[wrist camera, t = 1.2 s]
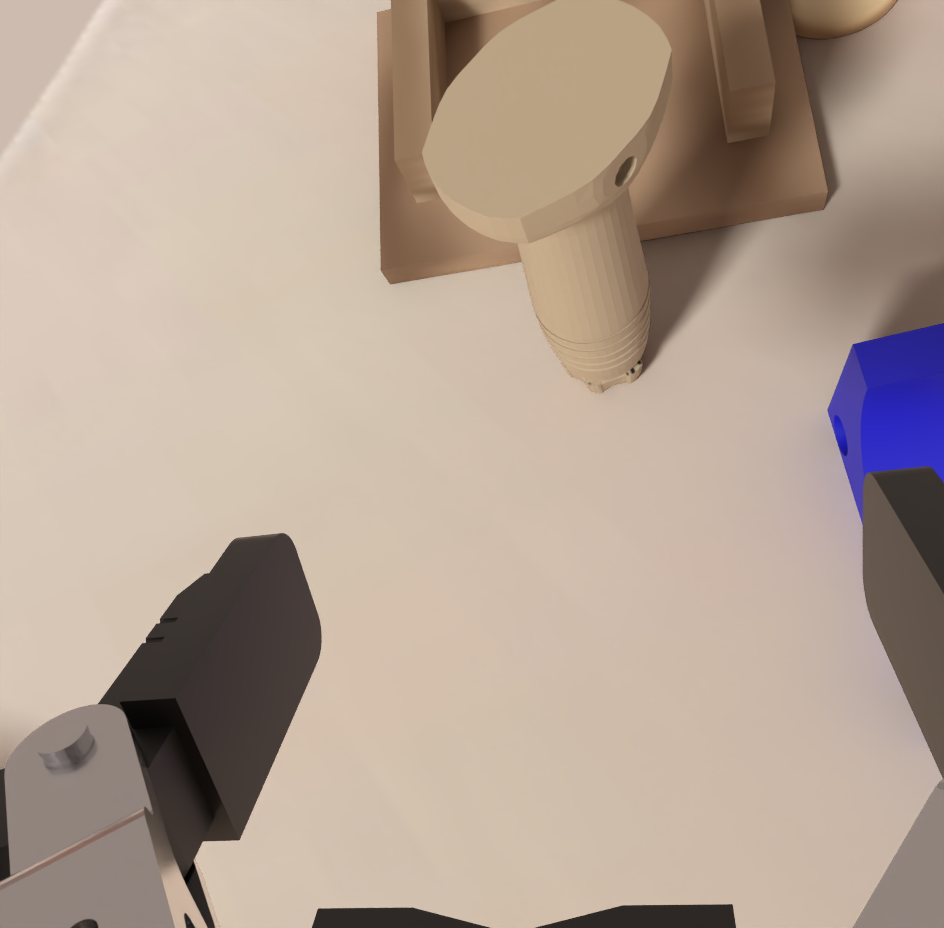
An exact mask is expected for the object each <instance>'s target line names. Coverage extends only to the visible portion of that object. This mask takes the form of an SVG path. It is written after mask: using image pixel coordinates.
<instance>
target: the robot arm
mask: <svg viewBox="0 0 944 928" xmlns="http://www.w3.org/2000/svg"><path fill="white" fill-rule="evenodd" d="M863 583H864V591H865V597H866V602H867V606H868V610H869V614H870V617H871V619H872V622H873V624H874V626H875V629H876V631H877V633H878V635H879V638H880V640H881V642H882V644H883V646H884V649H885V651H886V653H887V655H888V657H889V660H890V662H891V664H892V666H893V669H894V671H895V673H896V675H897V677H898V680H899V682H900V684H901V686H902V689H903V691H904V693H905V695H906V697H907V700H908V702H909V704H910V706H911V709H912V711H913V713H914V715H915V717H916V720H917V722H918V724H919V726H920V728H921V731H922V733H923V735H924V737H925V740H926V742H927V744H928V746H929V748H930V751H931V753H932V755H933V757H934V760H935V762H936V764H937V766H938V768H939V771H940V773H941V775H942V777H943V779H942V780H941V781H940V782H939V783H938V785H937V786H936V787H935V789H934V790H933V792H932V793H931V795H930V797H929V799H928V800H927V802H926V804H925V805H924V807H923V809H922V810H921V812H920V814H919V816H918V817H917V819H916V821H915V822H914V824H913V826H912V828H911V829H910V831H909V833H908V834H907V836H906V838H905V839H904V841H903V843H902V845H901V846H900V848H899V850H898V851H897V853H896V855H895V857H894V858H893V860H892V862H891V863H890V865H889V867H888V868H887V870H886V872H885V874H884V875H883V877H882V879H881V880H880V882H879V884H878V886H877V887H876V889H875V891H874V892H873V894H872V896H871V897H870V899H869V901H868V903H867V904H866V906H865V908H864V909H863V911H862V913H861V914H860V916H859V918H858V920H857V921H856V923H855V925H854V926H853V928H944V482H943V481H942V480H941V478H940V477H939V476H938V474H937V473H936V472H935V470H934V469H933V468H932V467H930V466H924V467H914V468H905V469H896V470H886V471H877V472H868V473H867V474H866V475H865V478H864V483H863ZM320 651H321V625H320V620H319V616H318V613H317V610H316V607H315V604H314V601H313V598H312V595H311V592H310V589H309V586H308V583H307V581H306V578H305V575H304V572H303V569H302V566H301V563H300V560H299V557H298V554H297V551H296V548H295V545H294V543H293V541H292V540H291V538H290V537H289V536H288V535H286V534H284V533H280V534H270V535H261V536H251V537H242V538H236V539H234V540H233V541H232V542H231V543H230V544H229V546H228V547H227V549H226V550H225V552H224V553H223V554H222V556H221V557H220V559H219V560H218V562H217V563H216V564H215V566H214V567H213V569H212V570H211V572H210V573H208V574H204V575H203V576H201V577H200V578H199V579H197V580H196V581H195V582H194V583H192V584H191V585H190V586H189V587H187V588H186V589H185V590H184V591H182V592H181V593H180V594H178V595H177V596H176V598H175V599H174V600H173V602H172V603H171V605H170V606H169V607H168V609H167V610H166V611H165V613H164V614H163V616H162V617H161V618H160V624H156V625H155V627H154V628H153V629H152V631H151V632H150V633H149V635H148V636H147V637H146V643H142V644H141V646H140V647H139V648H138V650H137V651H136V653H135V654H134V655H133V657H132V658H131V659H130V661H129V662H128V664H127V665H126V666H125V668H124V669H123V670H122V672H121V673H120V674H119V676H118V677H117V679H116V680H115V681H114V683H113V684H112V685H111V687H110V688H109V690H108V691H107V692H106V694H105V695H104V696H103V698H102V699H101V701H100V702H99V703H98V704H96V705H89V706H84V707H80V708H77V709H74V710H71V711H68V712H66V713H63V714H61V715H59V716H57V717H55V718H53V719H51V720H50V721H48V722H46V723H45V724H43V725H42V726H40V727H39V728H38V729H36V730H35V731H33V732H32V733H31V734H30V735H29V736H28V737H26V738H25V739H24V740H23V741H22V742H21V743H20V744H19V746H18V747H17V748H16V749H15V751H14V752H13V753H12V755H11V756H10V758H9V760H8V762H7V765H6V768H5V769H2V770H0V928H220V926H219V923H218V920H217V917H216V914H215V911H214V908H213V905H212V902H211V899H210V896H209V893H208V890H207V886H206V883H205V880H204V877H203V874H202V872H201V870H200V868H199V866H198V864H197V862H196V860H195V856H196V854H197V852H198V850H199V848H200V846H201V844H202V842H203V841H230V840H240V838H241V835H242V833H243V831H244V829H245V826H246V824H247V822H248V819H249V817H250V815H251V812H252V810H253V808H254V806H255V803H256V801H257V799H258V796H259V794H260V792H261V790H262V787H263V785H264V783H265V780H266V778H267V776H268V774H269V771H270V769H271V767H272V764H273V762H274V760H275V758H276V755H277V753H278V751H279V748H280V746H281V744H282V742H283V739H284V737H285V735H286V732H287V730H288V728H289V726H290V723H291V721H292V719H293V716H294V714H295V712H296V710H297V707H298V705H299V703H300V700H301V698H302V696H303V694H304V691H305V689H306V687H307V684H308V682H309V680H310V678H311V675H312V673H313V671H314V668H315V666H316V664H317V662H318V659H319V655H320ZM312 928H489V927H485V926H481V925H477V924H473V923H470V922H466V921H462V920H458V919H454V918H450V917H446V916H443V915H439V914H435V913H431V912H427V911H423V910H419V909H415V908H332V909H318V910H317V913H316V917H315V920H314V923H313V926H312ZM536 928H736V925H735V918H734V911H733V905H732V904H729V905H630V906H619V907H615V908H611V909H607V910H603V911H599V912H595V913H592V914H588V915H584V916H580V917H576V918H572V919H568V920H564V921H560V922H556V923H552V924H548V925H544V926H540V927H536Z"/></svg>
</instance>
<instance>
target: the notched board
mask: <svg viewBox="0 0 944 928" xmlns="http://www.w3.org/2000/svg"><path fill="white" fill-rule="evenodd" d="M553 1H555V0H391V9H389V10H385V11H381V12H377V41H378V108H379V176H380V243H381V271H382V273H383V274H384V276H385V277H386V279H387V280H388V282H389V283H390V284H395V283H400V282H406V281H412V280H418V279H424V278H429V277H435V276H441V275H447V274H453V273H458V272H464V271H470V270H476V269H482V268H487V267H493V266H499V265H505V264H511V263H516V262H522V260H521V256H520V252H519V248H518V245H517V243H508V242H501V241H497V240H494V239H492V238H489V237H486V236H483V235H482V234H480V233H478V232H476V231H475V230H473V229H471V228H469V227H468V226H467V225H466V224H464V223H463V222H462V221H461V220H460V219H458V218H457V217H456V216H455V215H454V214H453V213H452V212H451V211H450V209H449V208H448V207H447V206H446V204H445V203H444V202H443V201H442V199H441V198H440V196H439V194H438V192H437V190H436V188H435V186H434V184H433V181H432V179H431V177H430V175H429V173H428V170H427V168H426V166H425V163H424V159H423V155H422V151H423V148H424V145H425V142H426V139H427V136H428V133H429V130H430V127H431V124H432V122H433V119H434V116H435V114H436V111H437V108H438V106H439V104H440V102H441V100H442V98H443V96H444V94H445V92H446V90H447V88H448V87H449V86H450V84H451V83H452V82H453V81H454V79H455V78H456V77H457V75H458V74H459V73H460V72H461V71H462V70H463V69H464V68H465V66H466V65H467V64H468V63H469V62H470V61H471V60H472V59H473V58H474V57H475V56H476V55H477V53H478V52H479V51H480V50H481V49H482V48H483V47H484V46H485V45H486V44H487V43H488V42H489V41H490V40H491V39H492V38H493V37H495V36H496V35H497V34H498V33H499V32H500V31H502V30H503V29H505V28H506V27H508V26H509V25H511V24H512V23H514V22H515V21H517V20H519V19H521V18H523V17H525V16H526V15H528V14H530V13H532V12H534V11H536V10H538V9H540V8H542V7H544V6H546V5H548V4H549V3H551V2H553ZM620 1H622V2H625V3H627V4H629V5H632V6H634V7H635V8H637V9H638V10H640V11H642V12H643V13H645V14H646V15H648V16H649V17H650V18H651V19H652V20H653V21H654V22H655V23H656V24H658V25H659V26H660V28H661V29H662V31H663V33H664V34H665V36H666V37H667V39H668V42H669V44H670V47H671V49H672V74H673V77H672V85H671V89H670V93H669V97H668V101H667V105H666V108H665V112H664V116H663V119H662V122H661V125H660V128H659V131H658V134H657V136H656V138H655V141H654V143H653V145H652V148H651V150H650V152H649V154H648V156H647V158H646V160H645V162H644V163H643V165H642V167H641V169H640V171H639V173H638V174H637V176H636V177H635V179H634V180H633V181H632V183H631V184H630V186H629V187H628V189H629V194H630V198H631V203H632V208H633V213H634V217H635V221H636V225H637V229H638V234H639V238H640V241H644V240H650V239H655V238H661V237H667V236H673V235H679V234H684V233H690V232H696V231H702V230H708V229H713V228H719V227H725V226H731V225H737V224H742V223H748V222H754V221H760V220H765V219H771V218H777V217H783V216H789V215H794V214H800V213H806V212H812V211H818V210H823V209H824V206H825V202H826V198H827V194H828V189H827V184H826V180H825V175H824V170H823V165H822V160H821V155H820V150H819V146H818V141H817V136H816V131H815V126H814V121H813V116H812V111H811V107H810V102H809V97H808V92H807V87H806V82H805V77H804V72H803V68H802V63H801V58H800V53H799V48H798V43H797V38H796V33H795V29H794V24H793V19H792V14H791V9H790V4H789V0H620Z"/></svg>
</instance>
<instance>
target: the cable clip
mask: <svg viewBox="0 0 944 928" xmlns="http://www.w3.org/2000/svg"><path fill="white" fill-rule="evenodd" d="M828 414H829V417H830V420H831V423H832V427H833V430H834V433H835V436H836V440H837V443H838V446H839V449H840V453H841V456H842V459H843V462H844V466H845V469H846V472H847V475H848V479H849V482H850V485H851V488H852V492H853V495H854V498H855V501H856V505H857V508H858V511H859V514H860V518H861V521H862V524H863V483H864V478H865V475H866V474H867V473H868V472H877V471H886V470H896V469H905V468H914V467H924V466H930V467H932V468H933V469H934V470H935V472H936V473H937V474H938V476H939V477H940V478H941V480H942V481H943V482H944V323H943V324H938V325H934V326H930V327H925V328H921V329H917V330H912V331H908V332H904V333H899V334H895V335H891V336H886V337H882V338H878V339H874V340H869V341H865V342H861V343H856V344H853V345H852V348H851V351H850V353H849V356H848V358H847V361H846V364H845V366H844V369H843V371H842V374H841V376H840V379H839V382H838V384H837V387H836V389H835V392H834V395H833V397H832V400H831V402H830V405H829V408H828Z"/></svg>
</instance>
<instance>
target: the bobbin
mask: <svg viewBox="0 0 944 928" xmlns="http://www.w3.org/2000/svg"><path fill="white" fill-rule="evenodd" d="M896 2H897V0H789V4H790V9H791V14H792V19H793V24H794V29H795V33H796V36H800V37H806V38H817V39H824V38H835V37H841V36H845V35H848V34H852V33H855V32H857V31H860V30H862V29H864V28H866V27H868V26H870V25H872V24H873V23H875V22H876V21H878V20H879V19H880V18H882V17H883V16H884V15H885V14H886V13H887V12H888V11H889V10H890V9H891V8H892V7H893V6H894V4H895V3H896Z"/></svg>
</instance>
